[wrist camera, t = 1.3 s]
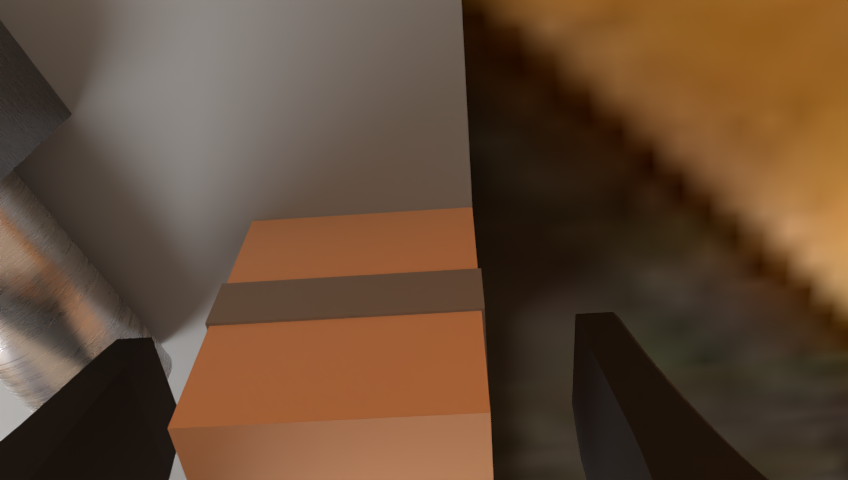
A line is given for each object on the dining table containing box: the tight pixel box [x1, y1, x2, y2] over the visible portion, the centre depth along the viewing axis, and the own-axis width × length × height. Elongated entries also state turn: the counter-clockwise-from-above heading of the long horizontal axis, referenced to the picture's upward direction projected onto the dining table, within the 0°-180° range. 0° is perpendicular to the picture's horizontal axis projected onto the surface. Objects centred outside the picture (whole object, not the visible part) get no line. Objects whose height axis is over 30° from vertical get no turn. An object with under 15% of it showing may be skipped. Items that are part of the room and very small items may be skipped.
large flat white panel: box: [0, 0, 472, 480], centre depth 17 cm, size 22×14×1 cm, turn 5°
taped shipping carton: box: [167, 207, 493, 480], centre depth 12 cm, size 4×4×5 cm
